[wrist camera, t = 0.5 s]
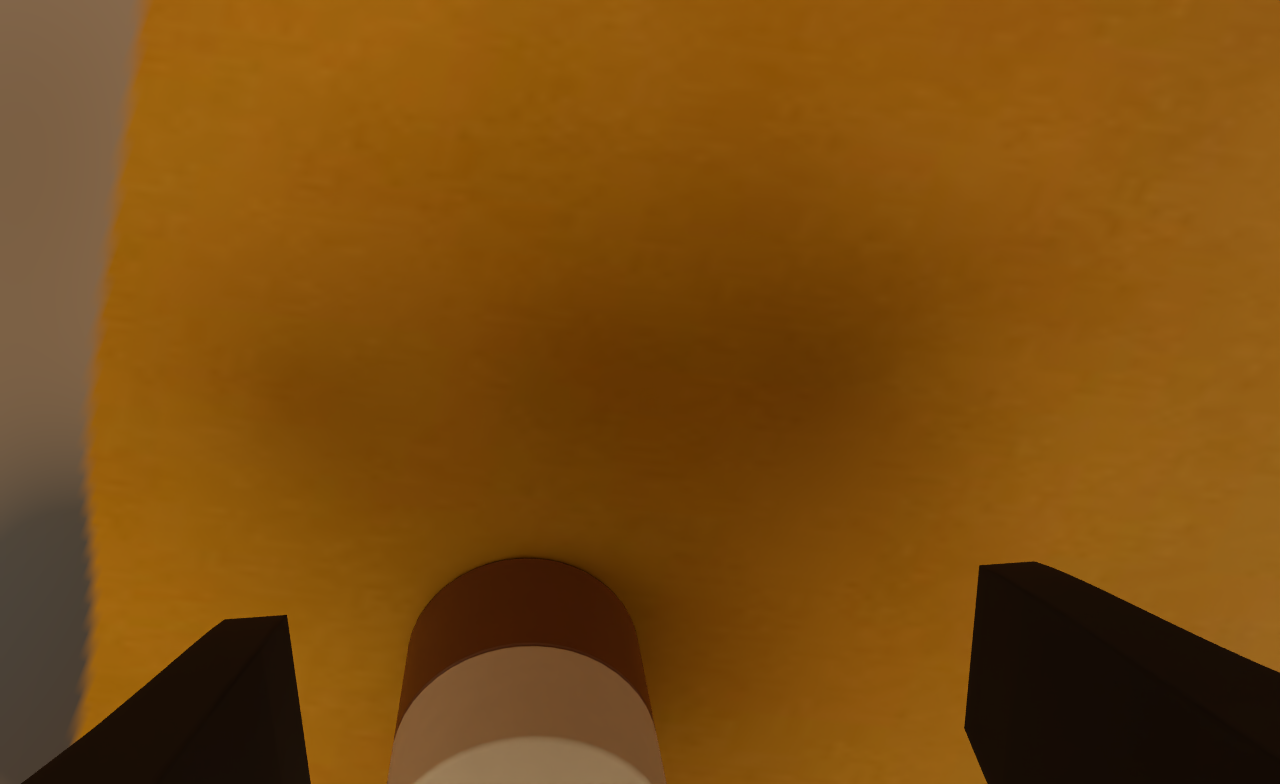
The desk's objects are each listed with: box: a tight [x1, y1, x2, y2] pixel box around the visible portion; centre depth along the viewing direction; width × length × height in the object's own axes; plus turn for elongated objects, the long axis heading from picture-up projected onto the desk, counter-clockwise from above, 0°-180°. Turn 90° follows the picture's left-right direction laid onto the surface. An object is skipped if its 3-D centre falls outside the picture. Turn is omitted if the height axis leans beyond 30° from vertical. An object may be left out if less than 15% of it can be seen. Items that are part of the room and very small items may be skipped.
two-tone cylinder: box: [387, 558, 666, 784], centre depth 19 cm, size 4×4×6 cm
